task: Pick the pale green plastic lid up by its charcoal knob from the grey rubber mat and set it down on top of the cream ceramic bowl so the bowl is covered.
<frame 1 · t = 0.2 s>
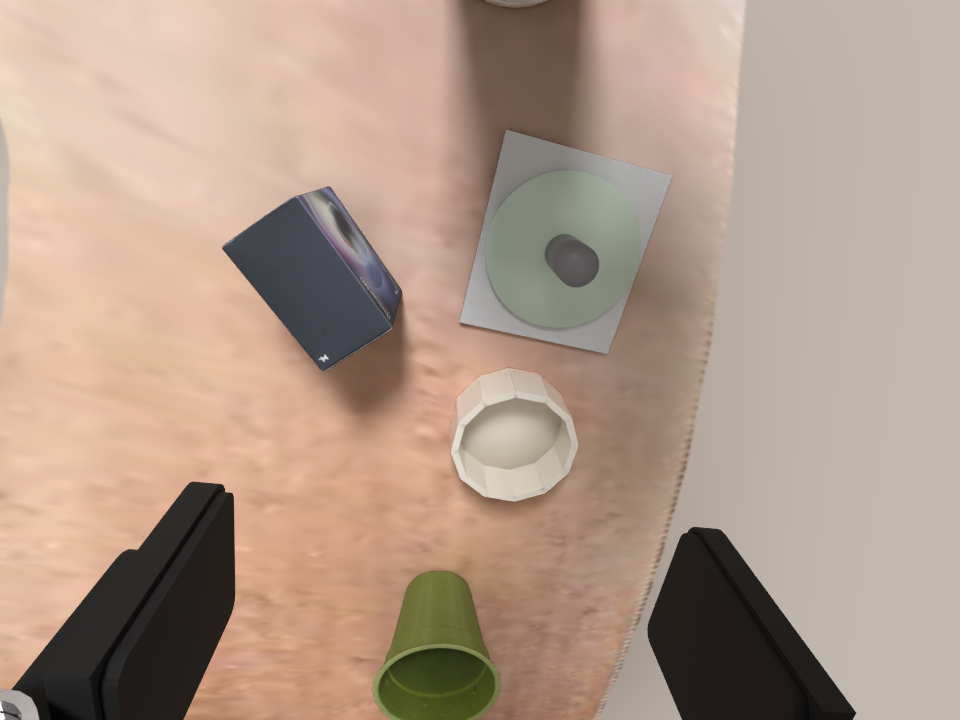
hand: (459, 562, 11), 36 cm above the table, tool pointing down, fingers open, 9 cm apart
bowl: (508, 421, 51), on the table
plant pot: (438, 592, 59), on the table
mat: (560, 250, 45), on the table
small box: (340, 258, 44), on the table
lid: (561, 251, 44), point 1 cm above the table, touching mat
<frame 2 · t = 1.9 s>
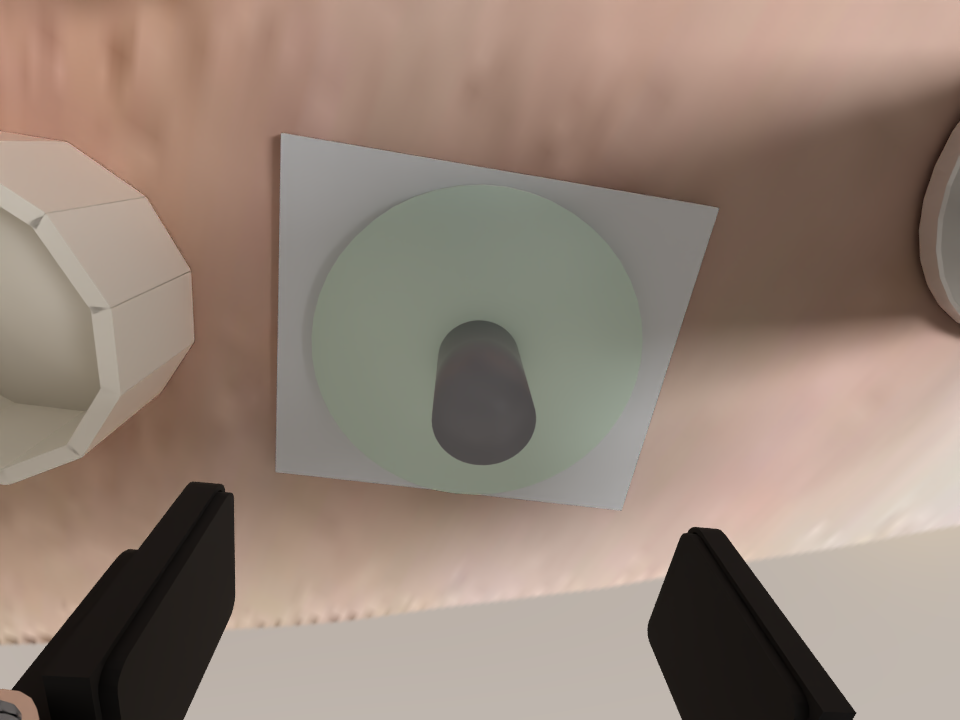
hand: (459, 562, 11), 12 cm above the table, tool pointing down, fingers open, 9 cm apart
bowl: (46, 286, 20), on the table
mat: (477, 346, 22), on the table
lid: (478, 351, 21), point 1 cm above the table, touching mat
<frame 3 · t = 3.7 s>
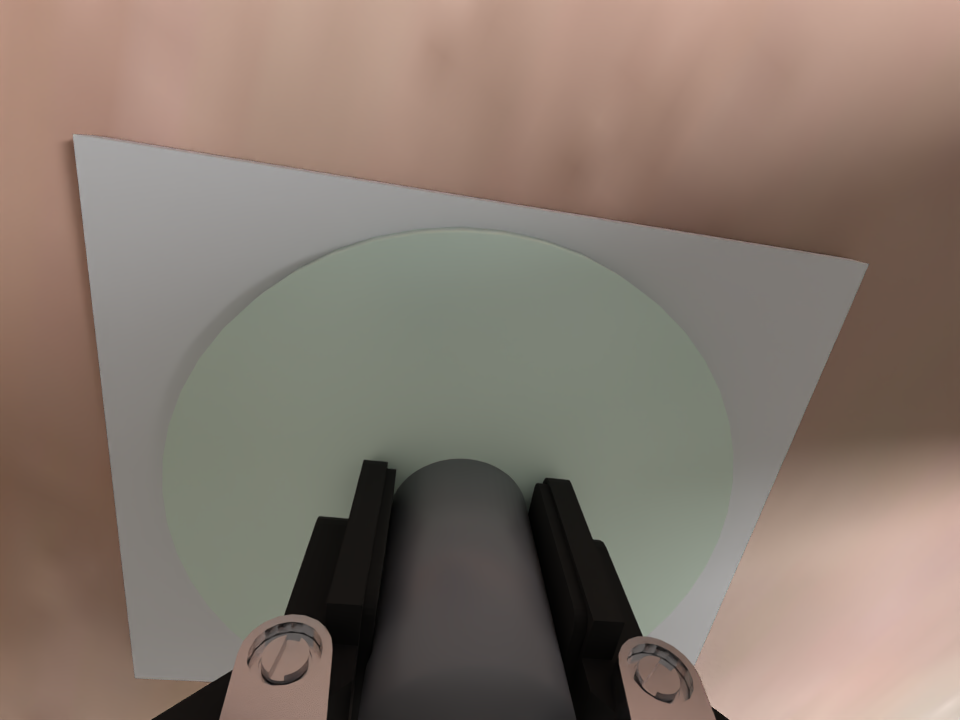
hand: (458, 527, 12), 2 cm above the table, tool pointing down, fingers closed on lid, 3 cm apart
mat: (456, 481, 13), on the table
lid: (457, 496, 13), point 1 cm above the table, touching gripper, mat
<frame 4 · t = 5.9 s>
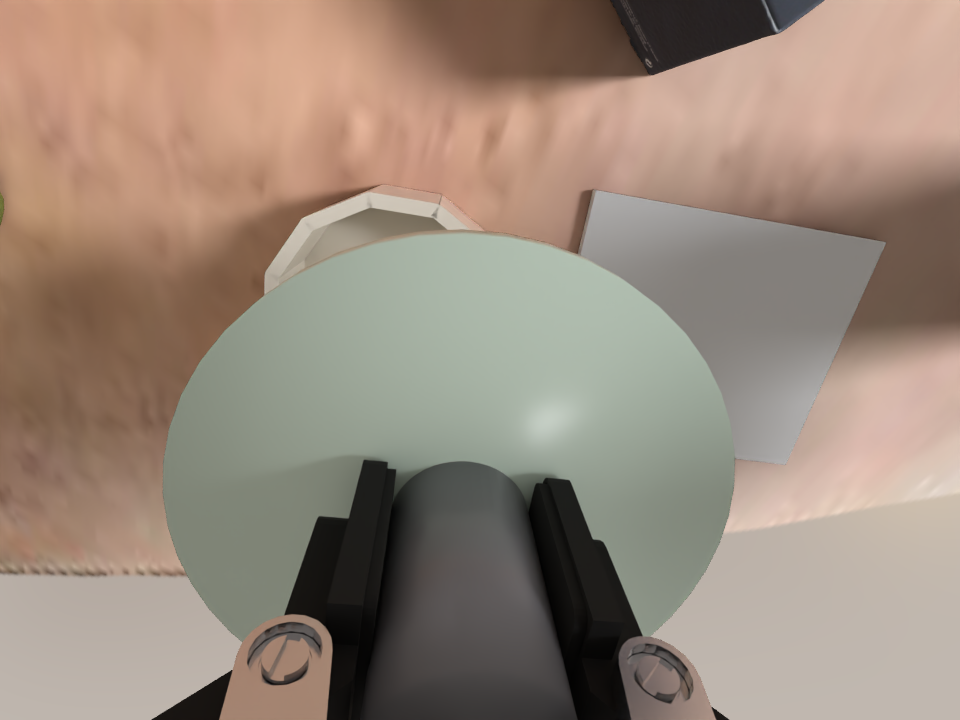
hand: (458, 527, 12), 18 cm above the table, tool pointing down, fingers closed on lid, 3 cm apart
bowl: (400, 294, 28), on the table
mat: (697, 339, 30), on the table
lid: (458, 498, 13), point 17 cm above the table, touching gripper
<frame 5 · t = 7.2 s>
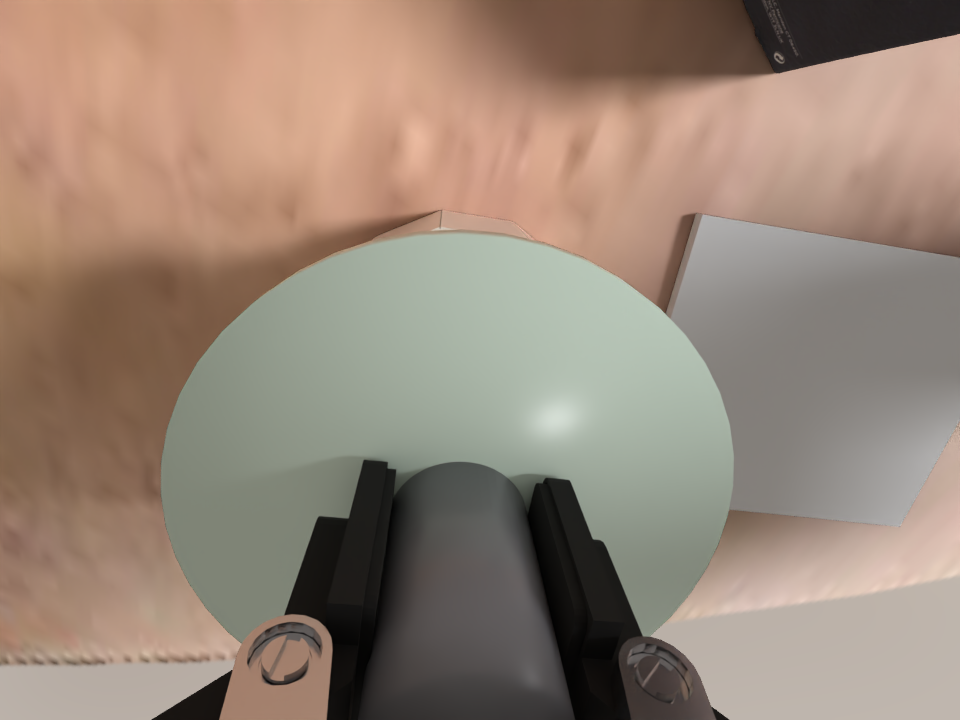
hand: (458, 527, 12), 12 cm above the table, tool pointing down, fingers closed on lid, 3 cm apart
bowl: (458, 341, 23), on the table
mat: (806, 387, 25), on the table
lid: (457, 499, 13), point 11 cm above the table, touching gripper
when the fingers open (8 cm above the table, at t = 8.2 s): lid drops 2 cm, resting on bowl.
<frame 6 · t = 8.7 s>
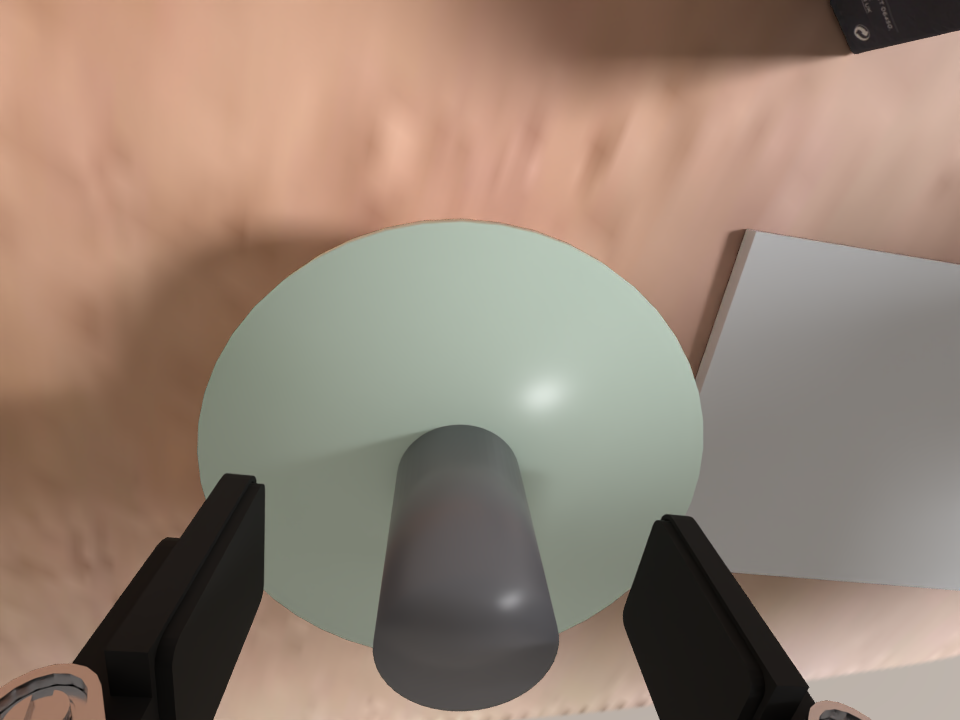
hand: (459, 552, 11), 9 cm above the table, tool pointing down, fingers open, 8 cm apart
mat: (869, 434, 21), on the table
lid: (457, 461, 14), point 5 cm above the table, touching bowl
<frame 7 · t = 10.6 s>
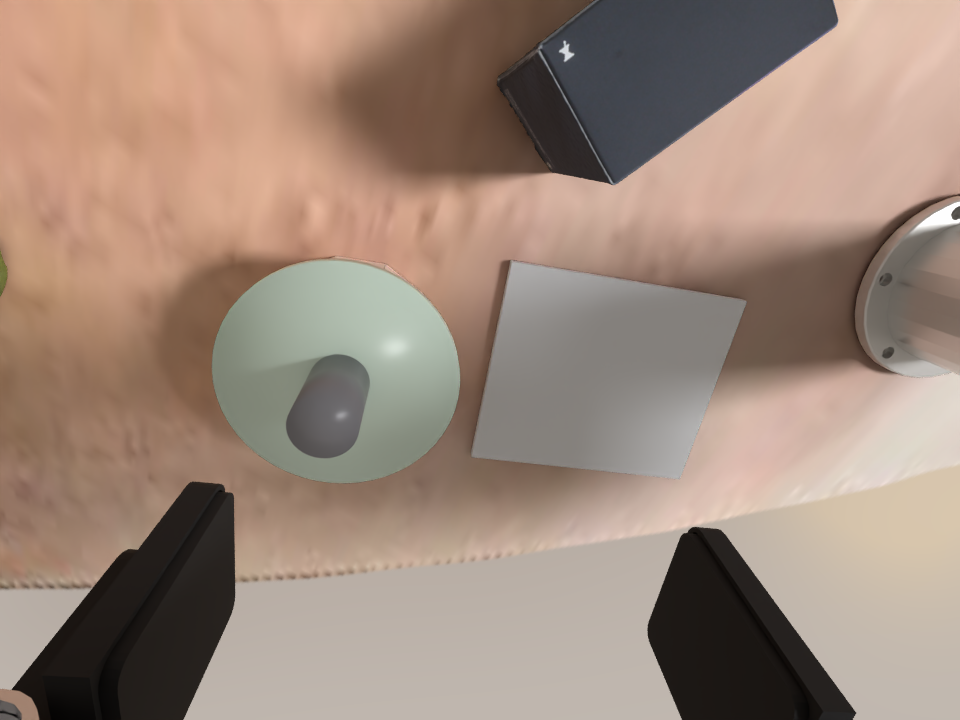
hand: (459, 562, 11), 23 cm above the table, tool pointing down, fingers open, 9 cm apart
mat: (601, 378, 36), on the table
small box: (601, 74, 29), on the table
lid: (341, 376, 29), point 5 cm above the table, touching bowl
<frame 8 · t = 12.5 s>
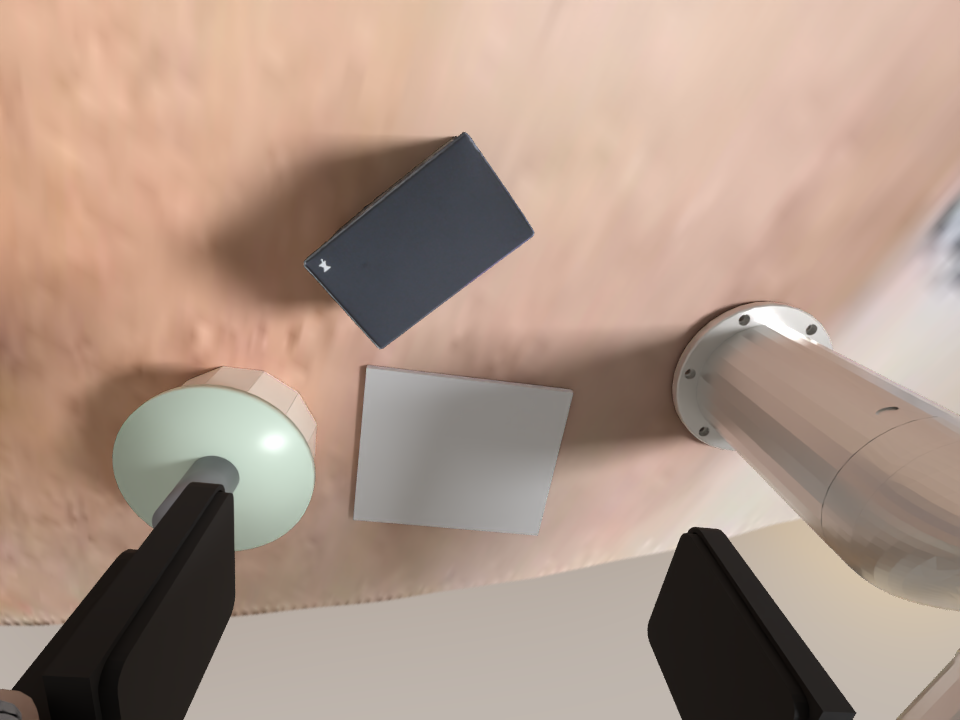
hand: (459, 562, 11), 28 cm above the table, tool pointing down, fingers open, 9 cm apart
bowl: (244, 432, 41), on the table
mat: (459, 454, 43), on the table
small box: (424, 222, 36), on the table
lid: (219, 469, 36), point 5 cm above the table, touching bowl
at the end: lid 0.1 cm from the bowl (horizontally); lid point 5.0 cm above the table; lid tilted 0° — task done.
